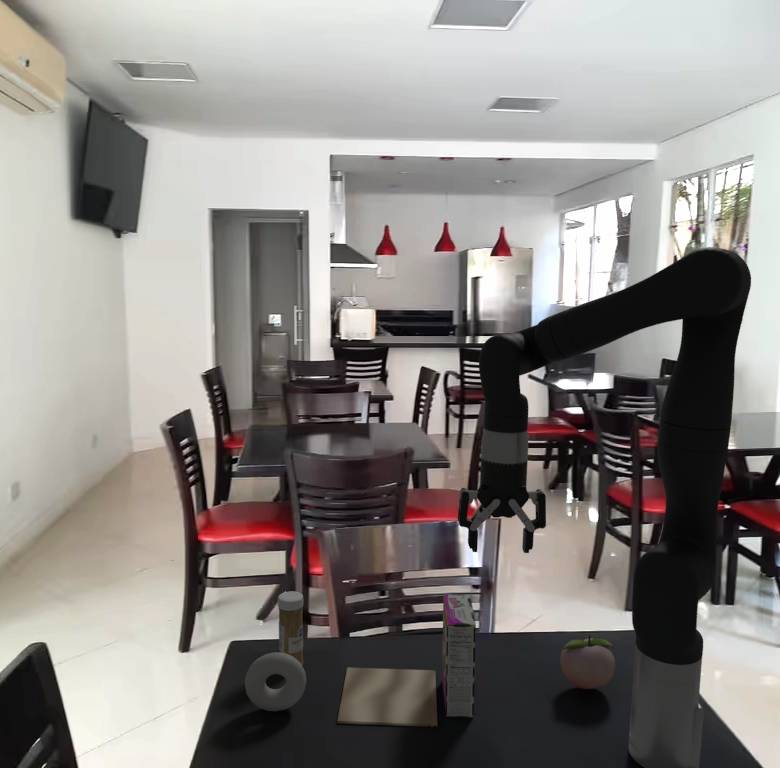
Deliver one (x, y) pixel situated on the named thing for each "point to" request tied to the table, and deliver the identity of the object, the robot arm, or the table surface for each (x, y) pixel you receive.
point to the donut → (275, 697)
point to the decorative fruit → (588, 662)
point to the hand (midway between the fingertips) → (500, 551)
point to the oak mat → (389, 697)
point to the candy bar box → (458, 655)
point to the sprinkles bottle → (291, 624)
